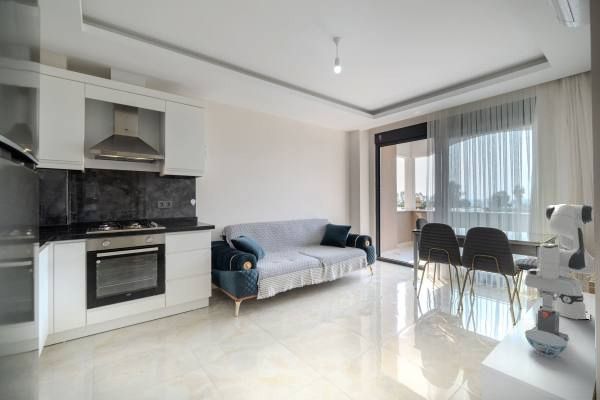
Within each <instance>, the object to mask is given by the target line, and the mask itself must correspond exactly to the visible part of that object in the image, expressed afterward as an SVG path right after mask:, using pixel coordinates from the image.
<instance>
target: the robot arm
mask: <svg viewBox="0 0 600 400" xmlns="http://www.w3.org/2000/svg"><path fill="white" fill-rule="evenodd" d="M593 209H594V208H593V206H591V205H587V204H583V205H581V204H567V203H563V204H562V203H561V204H551V205H548V206H547V207H546V209H545V213H544V214H545V216H546V219H548V221H549V227H550V230H552V232H554V233H555V234H558V235H559V237H558V238H559V239H558V241H559V244H560V245H558V244H556V243H552V242H546V243H545V242H544V243H541V244H540V245H539V250H538V262H539V264H538V268H537V267H536V268H530V269H528V270H527V274H526V275H525V278H524V279H525V280H524V285H525V286H527V287H528V288H529V287H530V288H533V289H537V292H538V293H539V297H540V298H542V299H543V293H542V291H544V290H547V291H551V292H555V293H556V294H555V296H554V297H553V300H555V311H557V312H559V316H561V317H564V318H567V319H572V320H578V319H587V318H586V313H588V312H589V311H587V306H586V303H585V302H584V299H585V297H584V294H583V283H582V282H581V280H580V279H578V278H576V277H575V276H573V275H572V274H571V273H576V274H580V275H581V274H582V275H595V274H594V259H595V257H593V256H592V255H590V253H589V252H588V251H587V249H586V247H585V227H584V225H587V223H591V222H592V221H594V218H595V217H594V215H593ZM560 246H561V247H563V248H565V249H563V248H560Z"/></svg>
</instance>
